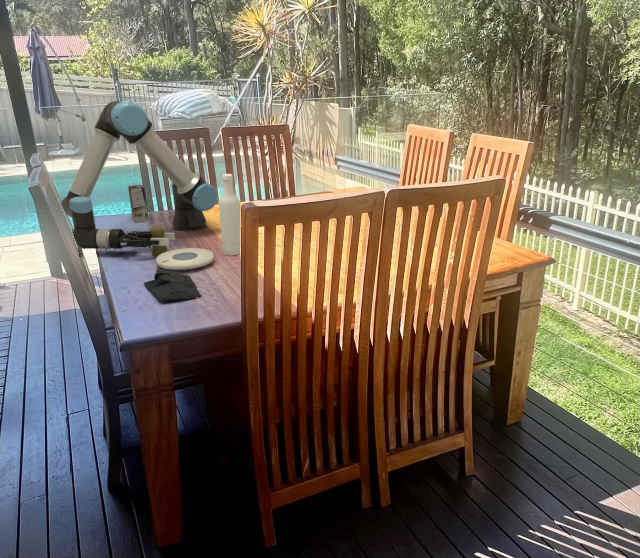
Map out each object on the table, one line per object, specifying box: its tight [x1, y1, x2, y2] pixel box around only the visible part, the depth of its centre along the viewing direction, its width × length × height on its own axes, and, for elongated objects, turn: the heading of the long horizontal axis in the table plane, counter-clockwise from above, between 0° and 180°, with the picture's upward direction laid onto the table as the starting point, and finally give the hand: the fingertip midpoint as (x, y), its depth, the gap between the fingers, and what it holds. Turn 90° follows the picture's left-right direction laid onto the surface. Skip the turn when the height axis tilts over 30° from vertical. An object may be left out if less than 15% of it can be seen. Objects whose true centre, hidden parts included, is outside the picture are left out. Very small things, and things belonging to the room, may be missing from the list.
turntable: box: [155, 247, 215, 271], centre depth 189 cm, size 20×20×2 cm
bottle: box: [218, 173, 241, 256], centre depth 197 cm, size 8×8×30 cm
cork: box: [149, 225, 168, 258], centre depth 199 cm, size 6×6×11 cm
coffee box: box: [127, 184, 149, 223], centre depth 248 cm, size 9×6×16 cm
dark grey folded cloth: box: [143, 268, 202, 303], centre depth 166 cm, size 15×22×5 cm
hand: (171, 239), depth 198 cm, fingers open, 6 cm apart
